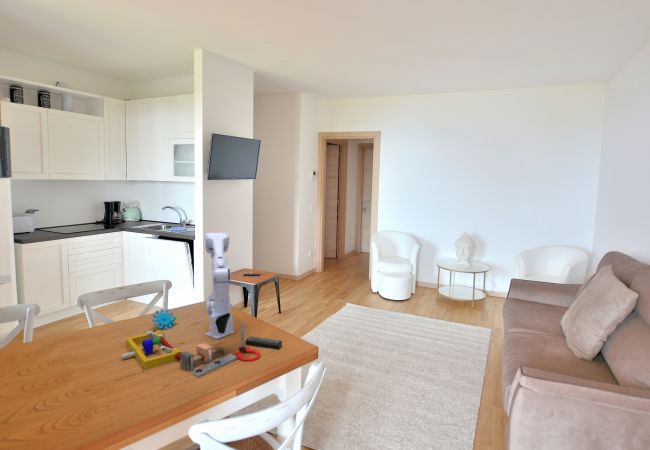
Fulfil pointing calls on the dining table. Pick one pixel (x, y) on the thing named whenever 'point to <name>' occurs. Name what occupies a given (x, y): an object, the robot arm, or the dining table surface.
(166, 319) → the gear
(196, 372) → the steel strip
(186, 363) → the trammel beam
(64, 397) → the dining table surface
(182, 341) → the dining table surface
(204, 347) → the block
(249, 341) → the multiport hub
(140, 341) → the yellow frame mechanism
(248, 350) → the tow hook
